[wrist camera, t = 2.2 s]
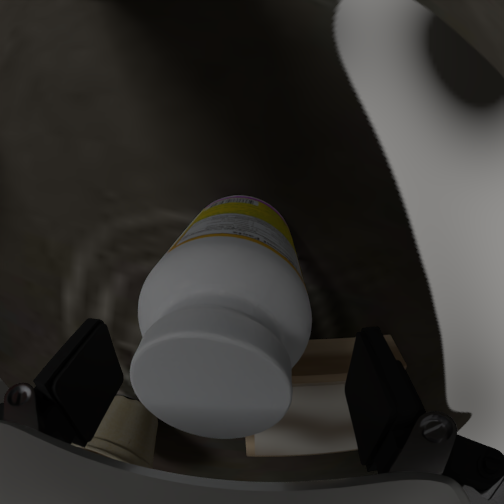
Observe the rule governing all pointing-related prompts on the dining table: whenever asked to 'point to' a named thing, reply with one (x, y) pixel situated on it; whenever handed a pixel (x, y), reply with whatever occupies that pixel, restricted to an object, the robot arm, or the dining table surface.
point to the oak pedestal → (315, 404)
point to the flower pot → (126, 433)
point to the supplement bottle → (223, 323)
